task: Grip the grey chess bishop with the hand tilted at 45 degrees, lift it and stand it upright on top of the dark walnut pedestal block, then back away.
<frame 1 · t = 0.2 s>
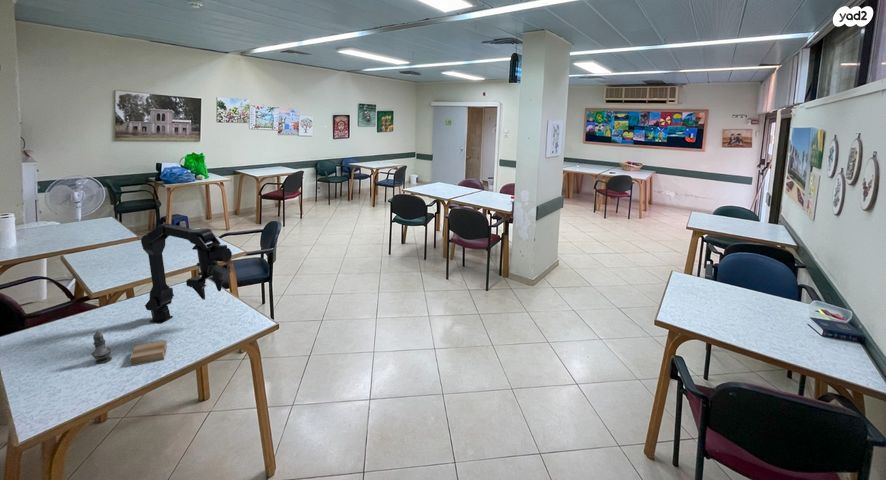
hand: (211, 295, 186), 15 cm above the table, tool pointing down, fingers open, 9 cm apart
walnut pedestal: (150, 356, 166), on the table
grey chess bishop: (103, 360, 163), on the table
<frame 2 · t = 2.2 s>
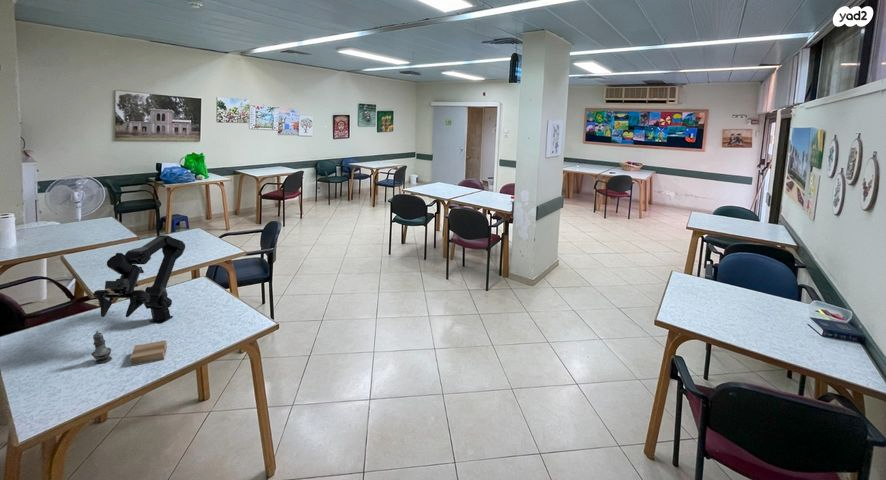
hand: (114, 316, 168), 13 cm above the table, tool tilted 45°, fingers open, 9 cm apart
nothing on the table moved.
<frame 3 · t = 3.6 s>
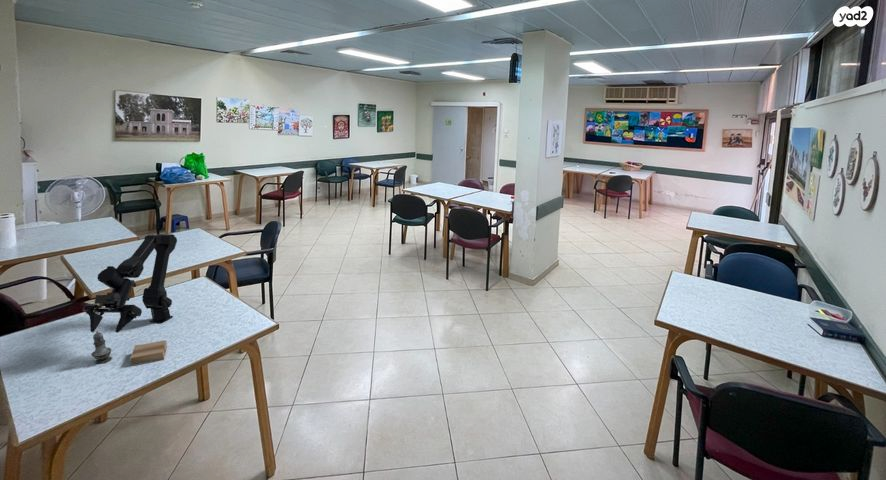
hand: (104, 332, 163), 10 cm above the table, tool tilted 45°, fingers open, 9 cm apart
nothing on the table moved.
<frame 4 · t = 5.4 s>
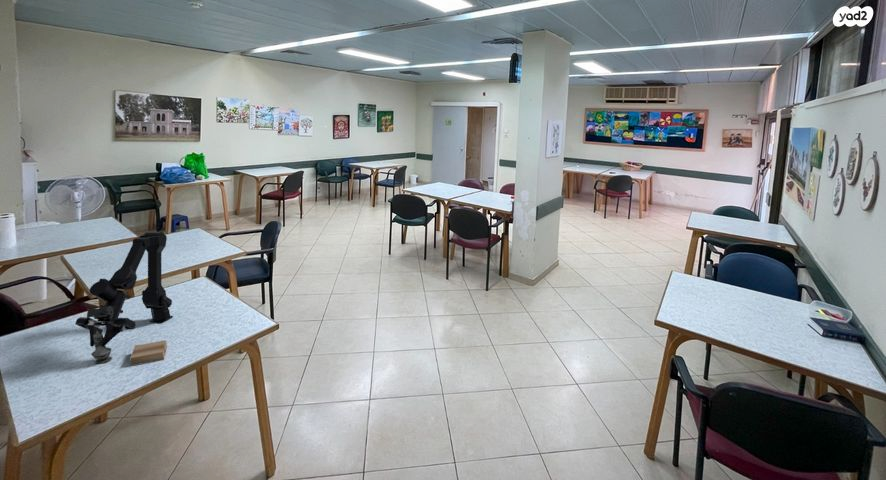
hand: (96, 346, 160), 7 cm above the table, tool tilted 45°, fingers closed on grey chess bishop, 4 cm apart
grey chess bishop: (103, 360, 163), on the table, touching gripper
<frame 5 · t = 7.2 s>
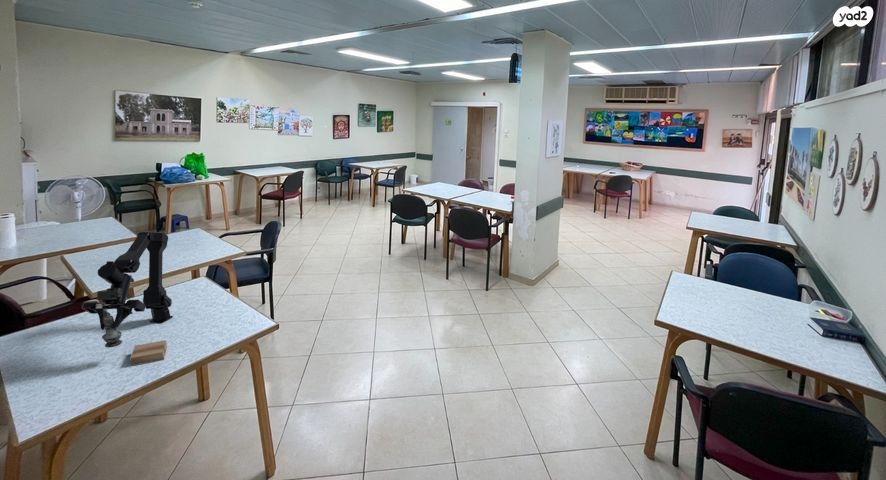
hand: (108, 329, 159), 13 cm above the table, tool tilted 45°, fingers closed on grey chess bishop, 4 cm apart
grey chess bishop: (113, 344, 162), point 6 cm above the table, touching gripper
when the fingers open (11 cm above the table, at t = 8.9 s): grey chess bishop drops 1 cm, resting on walnut pedestal.
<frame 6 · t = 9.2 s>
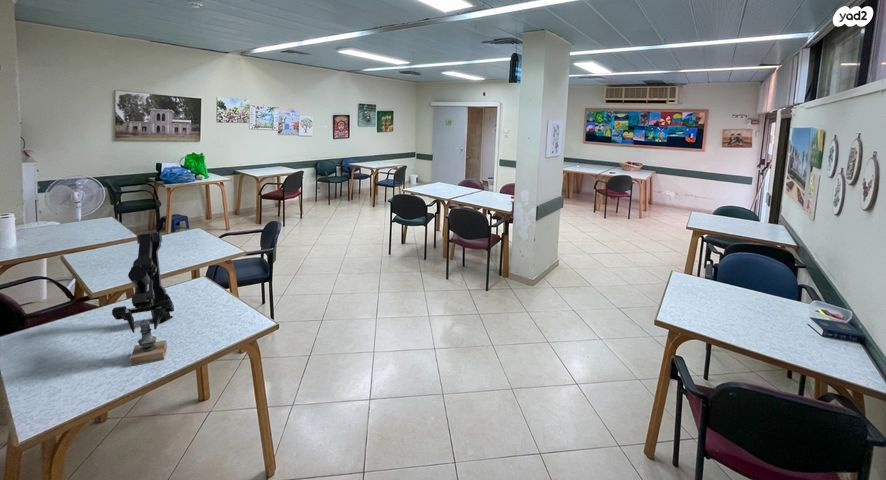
hand: (144, 330, 162), 11 cm above the table, tool tilted 45°, fingers open, 6 cm apart
grey chess bishop: (148, 349, 166), point 3 cm above the table, touching walnut pedestal
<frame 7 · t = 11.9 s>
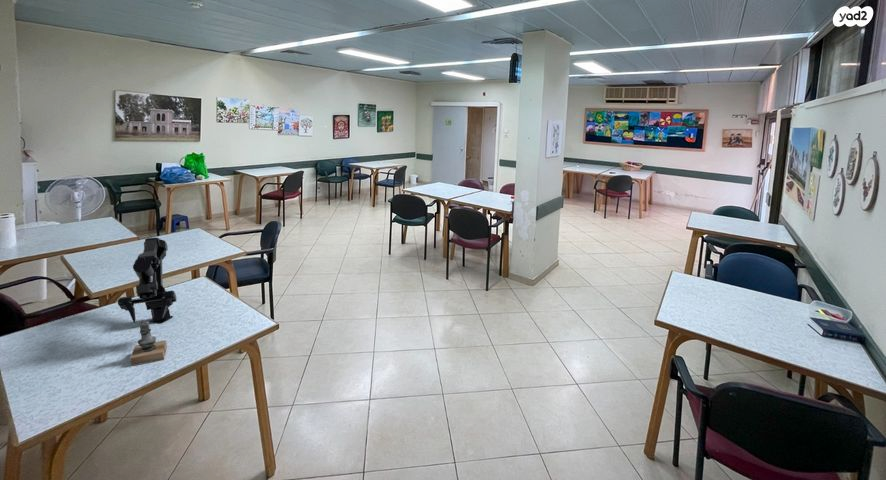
hand: (148, 319, 171), 11 cm above the table, tool tilted 45°, fingers open, 9 cm apart
nothing on the table moved.
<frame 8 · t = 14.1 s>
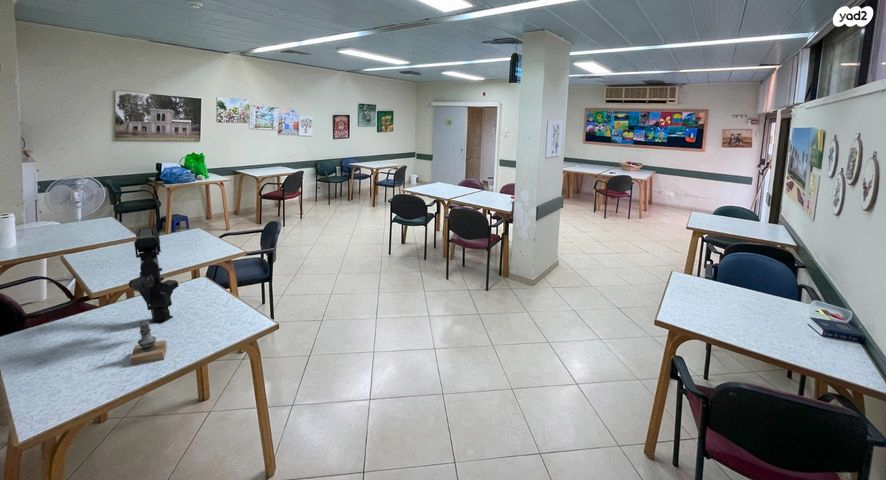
hand: (157, 303, 181), 13 cm above the table, tool pointing down, fingers open, 9 cm apart
nothing on the table moved.
at the end: grey chess bishop 0.2 cm off-centre on the walnut pedestal, point 2.8 cm above the walnut pedestal's base; grey chess bishop tilted 0°; the gripper is holding nothing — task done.
